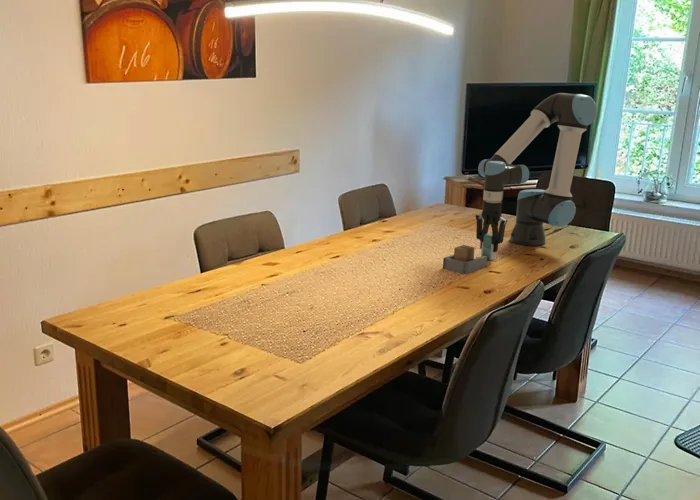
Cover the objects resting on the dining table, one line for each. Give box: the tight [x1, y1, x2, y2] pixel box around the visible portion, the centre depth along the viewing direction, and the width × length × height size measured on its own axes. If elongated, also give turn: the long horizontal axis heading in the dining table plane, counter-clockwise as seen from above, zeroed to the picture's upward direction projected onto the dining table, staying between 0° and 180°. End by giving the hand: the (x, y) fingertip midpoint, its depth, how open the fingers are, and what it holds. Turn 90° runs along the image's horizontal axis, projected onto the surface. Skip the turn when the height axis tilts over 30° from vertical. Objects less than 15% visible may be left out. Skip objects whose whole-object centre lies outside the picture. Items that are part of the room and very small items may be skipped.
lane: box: [442, 254, 488, 275], centre depth 265 cm, size 14×10×4 cm
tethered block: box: [453, 232, 493, 262], centre depth 269 cm, size 22×5×10 cm, turn 136°
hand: (488, 258), depth 277 cm, fingers closed on tethered block, 3 cm apart
